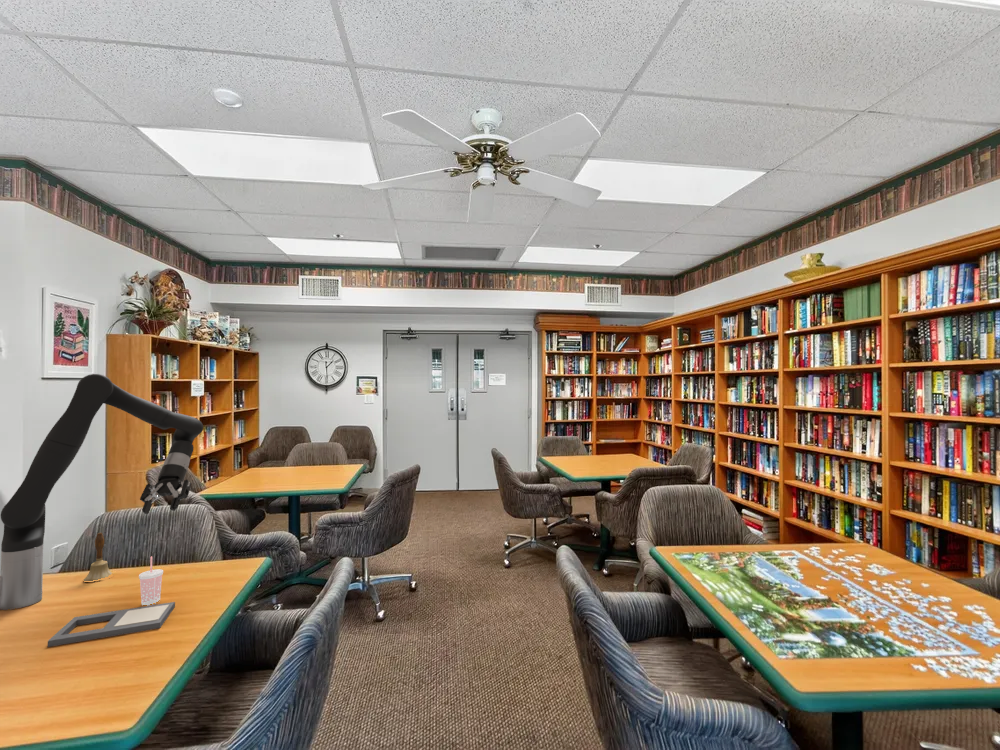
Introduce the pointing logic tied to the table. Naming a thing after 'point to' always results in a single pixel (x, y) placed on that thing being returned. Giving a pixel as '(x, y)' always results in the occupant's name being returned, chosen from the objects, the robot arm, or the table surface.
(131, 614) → the hole board
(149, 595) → the beverage cup
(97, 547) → the hand bell
